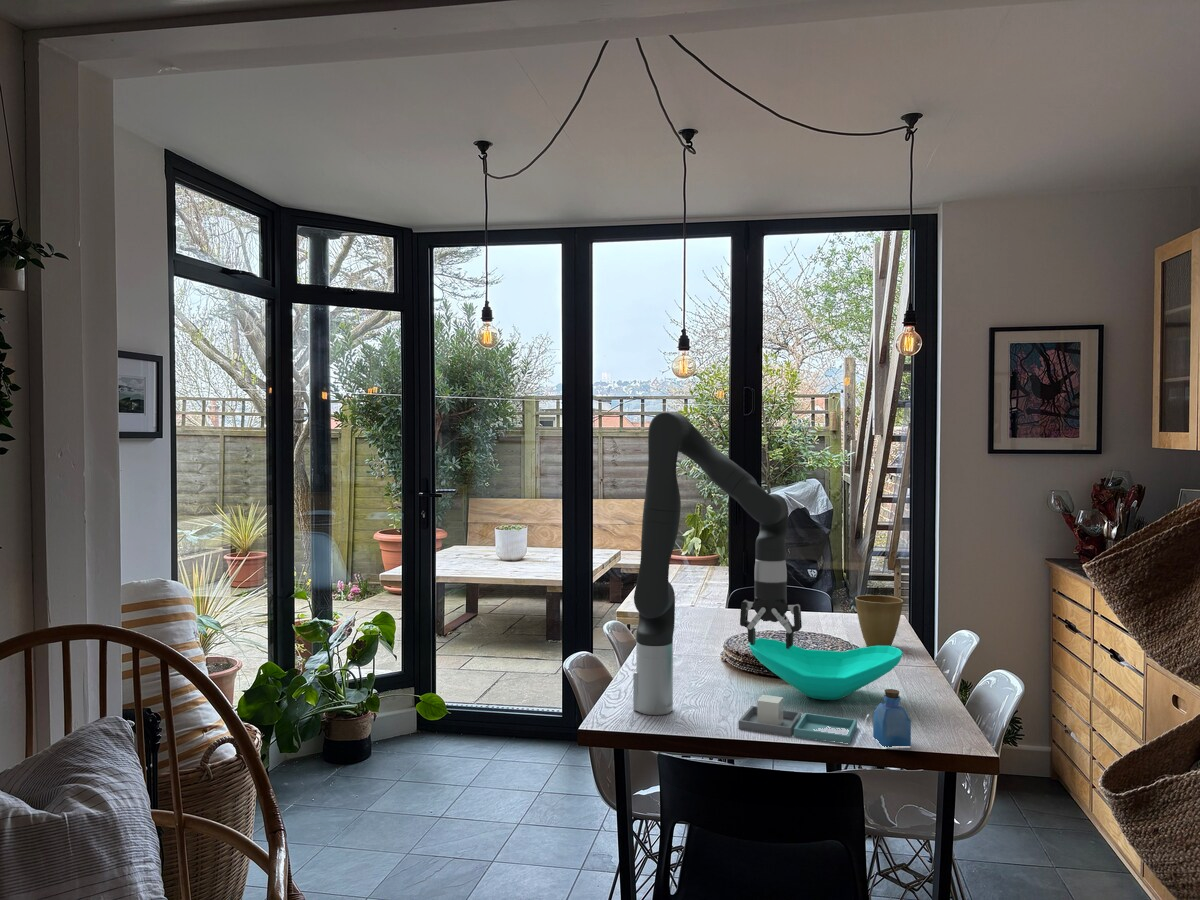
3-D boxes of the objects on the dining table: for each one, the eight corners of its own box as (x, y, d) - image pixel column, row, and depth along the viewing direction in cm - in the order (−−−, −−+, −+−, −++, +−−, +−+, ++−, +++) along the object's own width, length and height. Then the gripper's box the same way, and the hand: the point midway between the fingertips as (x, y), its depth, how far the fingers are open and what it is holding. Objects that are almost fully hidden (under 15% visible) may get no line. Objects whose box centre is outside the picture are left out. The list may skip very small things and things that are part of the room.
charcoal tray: (738, 730, 200) (738, 720, 200) (751, 715, 211) (751, 705, 211) (790, 738, 195) (790, 728, 195) (801, 722, 206) (801, 712, 206)
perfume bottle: (899, 739, 194) (900, 686, 194) (910, 749, 188) (911, 695, 188) (873, 739, 194) (873, 687, 194) (883, 749, 188) (883, 695, 188)
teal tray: (794, 739, 194) (794, 728, 194) (804, 722, 205) (804, 712, 205) (849, 747, 189) (849, 736, 189) (856, 729, 200) (856, 719, 200)
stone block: (757, 725, 201) (757, 700, 201) (762, 719, 206) (762, 694, 206) (778, 728, 199) (778, 703, 199) (783, 722, 204) (783, 697, 204)
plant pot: (909, 653, 271) (909, 603, 271) (862, 652, 271) (862, 603, 271) (894, 641, 286) (894, 594, 285) (849, 641, 286) (849, 594, 286)
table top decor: (743, 706, 218) (743, 655, 217) (752, 676, 244) (752, 630, 244) (907, 719, 207) (908, 665, 207) (898, 687, 234) (898, 639, 234)
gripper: (737, 578, 202) (737, 647, 202) (797, 583, 196) (797, 653, 196) (745, 574, 208) (745, 640, 209) (803, 578, 203) (803, 645, 203)
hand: (770, 646), depth 202 cm, fingers open, 8 cm apart
